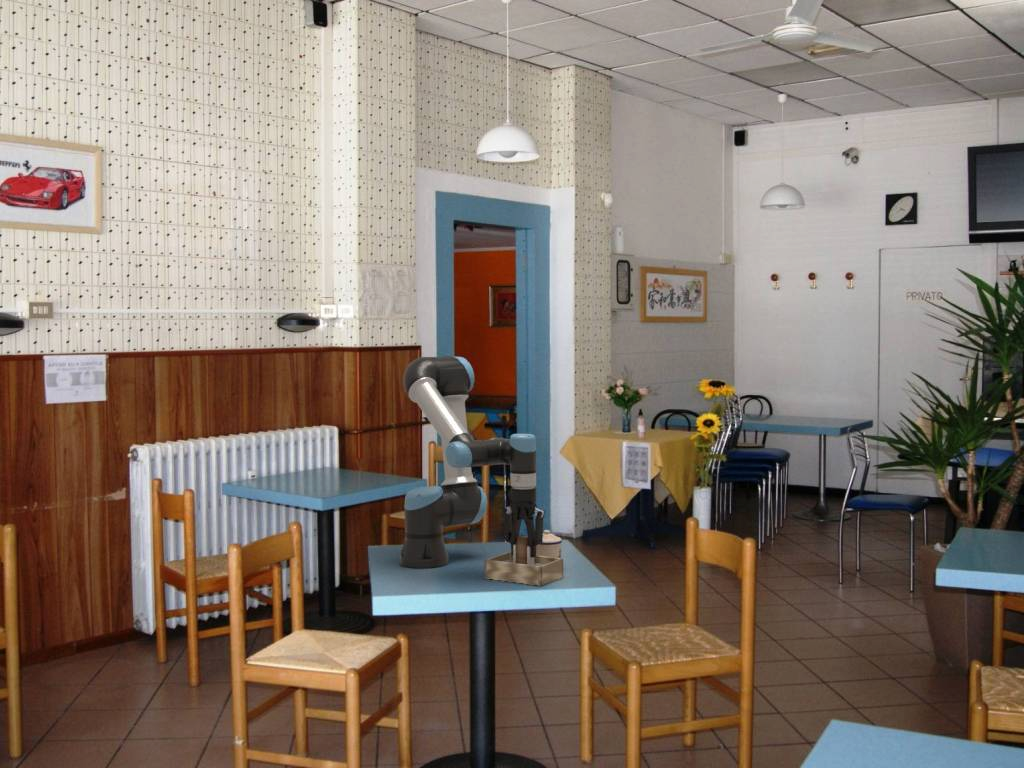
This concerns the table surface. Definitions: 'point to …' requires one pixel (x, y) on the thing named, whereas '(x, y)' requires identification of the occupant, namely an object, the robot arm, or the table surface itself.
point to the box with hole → (523, 569)
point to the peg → (522, 549)
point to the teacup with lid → (549, 546)
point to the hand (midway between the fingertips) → (523, 567)
